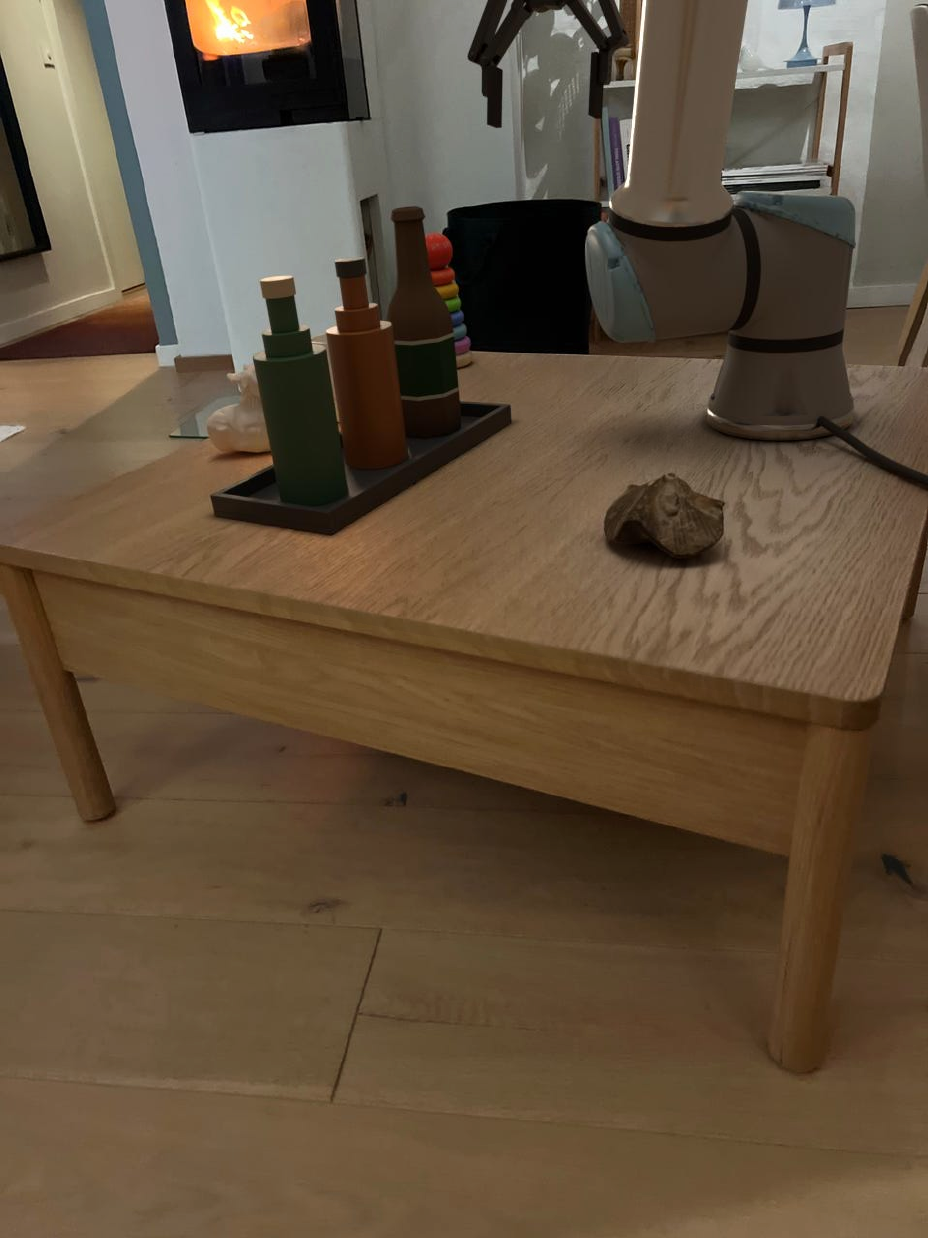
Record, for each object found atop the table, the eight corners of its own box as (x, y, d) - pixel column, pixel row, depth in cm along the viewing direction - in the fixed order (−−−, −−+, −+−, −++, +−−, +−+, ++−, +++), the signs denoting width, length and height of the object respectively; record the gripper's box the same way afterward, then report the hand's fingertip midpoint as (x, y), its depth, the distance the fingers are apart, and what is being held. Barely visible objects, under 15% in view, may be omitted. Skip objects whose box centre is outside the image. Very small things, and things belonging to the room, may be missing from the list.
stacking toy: (419, 362, 142) (405, 232, 133) (470, 356, 142) (459, 227, 133) (423, 373, 135) (408, 238, 126) (476, 367, 135) (465, 232, 126)
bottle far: (359, 494, 89) (326, 275, 80) (295, 512, 86) (253, 287, 77) (330, 477, 95) (297, 269, 85) (270, 494, 92) (227, 281, 82)
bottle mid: (419, 459, 97) (396, 256, 88) (362, 474, 94) (332, 266, 85) (390, 445, 103) (365, 252, 93) (335, 459, 100) (304, 262, 90)
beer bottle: (455, 438, 103) (434, 208, 91) (389, 440, 104) (360, 213, 93) (468, 418, 109) (450, 201, 98) (406, 420, 111) (381, 206, 100)
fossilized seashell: (752, 518, 71) (664, 504, 80) (714, 458, 68) (627, 450, 76) (696, 590, 70) (613, 568, 78) (655, 532, 66) (572, 515, 75)
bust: (220, 479, 106) (225, 415, 97) (194, 430, 108) (196, 363, 99) (312, 454, 112) (325, 391, 102) (286, 408, 114) (296, 342, 104)
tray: (410, 414, 116) (408, 397, 114) (511, 422, 109) (510, 404, 108) (214, 516, 89) (209, 495, 88) (331, 535, 82) (327, 512, 81)
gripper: (664, -93, 103) (650, 117, 109) (470, -55, 114) (469, 134, 121) (643, -120, 96) (630, 106, 103) (440, -76, 108) (441, 124, 114)
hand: (543, 121), depth 112 cm, fingers open, 13 cm apart
